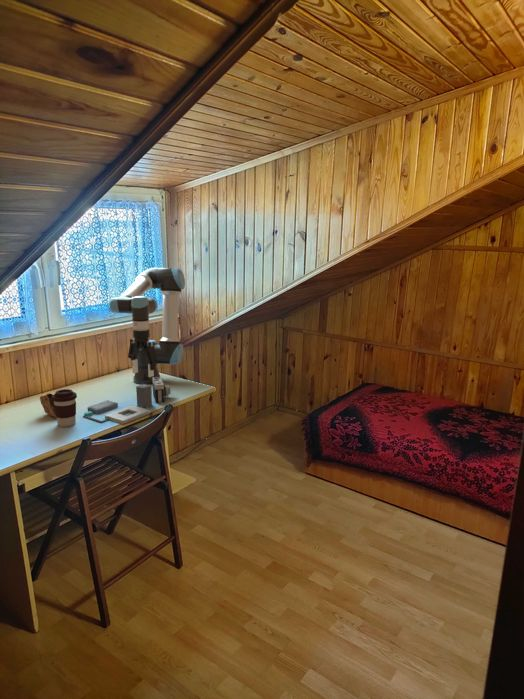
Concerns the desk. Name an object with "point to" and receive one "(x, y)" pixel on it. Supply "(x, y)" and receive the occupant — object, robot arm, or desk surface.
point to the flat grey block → (102, 407)
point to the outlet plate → (127, 414)
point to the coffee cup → (65, 407)
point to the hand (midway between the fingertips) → (143, 374)
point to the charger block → (144, 395)
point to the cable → (93, 418)
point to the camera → (159, 390)
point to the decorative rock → (48, 404)
